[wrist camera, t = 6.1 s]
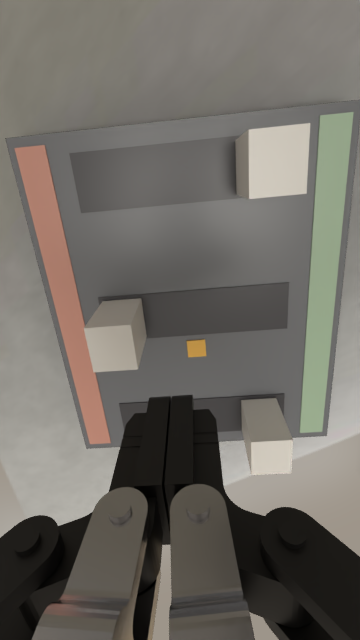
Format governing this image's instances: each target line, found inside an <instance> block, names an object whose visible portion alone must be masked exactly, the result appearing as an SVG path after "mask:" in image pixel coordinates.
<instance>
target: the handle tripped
mask: <svg viewBox="0 0 360 640" xmlns="http://www.w3.org/2000/svg"><path fill="white" fill-rule="evenodd" d="M84 332H85V337H86V341H87V346H88V350H89V354H90V359H91V363H92V368H93V372H108V371H123V370H138V368H139V364H140V360H141V356H142V352H143V349H144V345H145V341H146V337H147V335H146V328H145V321H144V314H143V307H142V300H141V298H137V299H124V300H112V301H102V303H101V304H100V306H99V307H98V308H97V310H96V311H95V313H94V314H93V316H92V317H91V318H90V320H89V321H88V323H87V324H86V326H85V327H84Z"/></svg>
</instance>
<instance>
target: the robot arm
mask: <svg viewBox="0 0 360 640" xmlns="http://www.w3.org/2000/svg"><path fill="white" fill-rule="evenodd" d="M166 544H167V545H168V544H171V586H172V587H171V589H172V602H171V606H170V612H169V640H255V638H254V633H253V628H252V623H251V618H250V613H249V612H251V613H253V614H256V615H258V616H261V617H263V618H264V620H265V622H266V623H267V625H268V626H269V628H270V629H271V630H272V631H273V633H274V634H275V635H276V636H277V637H278V639H279V640H360V557H359V556H358V555H357V554H356V553H355V552H353V551H352V550H351V549H349V548H348V547H347V546H346V545H345V544H343V543H342V542H341V541H340V540H339V539H337V538H336V537H335V536H334V535H332V534H331V533H330V532H329V531H328V530H326V529H325V528H324V527H323V526H321V525H320V524H319V523H318V522H316V521H315V520H314V519H313V518H312V517H310V516H309V515H307V514H306V513H304V512H302V511H300V510H297V509H295V508H290V507H281V508H277V509H274V510H272V511H270V512H269V513H268V514H267V515H266V516H262V515H259V514H255V513H252V512H248V511H245V510H243V509H241V508H240V507H238V506H237V505H235V504H234V503H233V502H232V501H231V500H230V499H229V497H228V496H227V494H226V493H225V490H224V486H223V479H222V470H221V460H220V451H219V441H218V432H217V422H216V418H215V417H214V415H213V414H212V413H211V411H210V410H209V409H198V410H194V401H193V395H178V396H172V398H171V396H163V397H150V398H149V401H148V406H147V412H146V413H135V414H134V415H133V416H132V417H131V419H130V420H129V421H128V422H127V424H126V426H125V430H124V434H123V439H122V442H121V446H120V450H119V454H118V458H117V462H116V466H115V470H114V474H113V478H112V482H111V486H110V490H109V492H108V493H107V494H106V495H104V496H103V497H102V498H101V499H100V500H99V501H98V503H97V504H96V506H95V508H94V510H93V512H92V513H90V514H89V515H87V516H85V517H83V518H80V519H77V520H75V521H72V522H69V523H66V524H63V525H60V526H58V525H57V523H56V522H55V520H53V519H52V518H50V517H48V516H41V515H39V516H34V517H30V518H28V519H25V520H23V521H22V522H20V523H18V524H17V525H16V526H14V527H13V528H12V529H11V530H10V531H8V532H7V533H6V534H5V535H3V536H2V537H1V538H0V640H152V636H153V629H154V622H155V614H156V608H157V601H158V593H159V586H160V578H161V571H160V566H161V554H162V545H166Z"/></svg>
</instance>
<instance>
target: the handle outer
mask: <svg viewBox="0 0 360 640" xmlns="http://www.w3.org/2000/svg"><path fill="white" fill-rule="evenodd" d="M241 415H242V433H243V437H244V442H245V447H246V451H247V456H248V461H249V466H250V470H251V475H262V474H283V473H291V467H292V449H293V439H292V436H291V434H290V431H289V429H288V426H287V424H286V421H285V419H284V416H283V414H282V411H281V409H280V406H279V404H278V401H277V399H276V398H267V399H251V400H241Z"/></svg>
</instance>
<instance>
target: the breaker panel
mask: <svg viewBox="0 0 360 640" xmlns="http://www.w3.org/2000/svg"><path fill="white" fill-rule="evenodd" d="M305 123H310V139H309V158H308V176H307V194H298V195H288V196H277V197H267V198H256V199H247V198H244V197H242V196H239V195H237V191H236V146H235V140H236V139H237V138H239V137H240V136H241V135H242V134H244V133H245V132H246V131H247V130H249V129H258V128H267V127H276V126H286V125H295V124H305ZM359 125H360V100H352V101H343V102H334V103H325V104H315V105H306V106H297V107H288V108H279V109H269V110H260V111H251V112H242V113H233V114H224V115H214V116H205V117H196V118H187V119H178V120H168V121H159V122H150V123H141V124H132V125H123V126H113V127H104V128H95V129H86V130H77V131H68V132H58V133H49V134H40V135H31V136H22V137H12V138H5V140H6V143H7V147H8V151H9V155H10V159H11V163H12V166H13V170H14V174H15V178H16V182H17V185H18V189H19V193H20V197H21V201H22V204H23V208H24V212H25V216H26V220H27V224H28V227H29V231H30V235H31V239H32V243H33V246H34V250H35V254H36V258H37V262H38V266H39V269H40V273H41V277H42V281H43V285H44V288H45V292H46V296H47V300H48V304H49V307H50V311H51V315H52V319H53V323H54V327H55V330H56V334H57V338H58V342H59V346H60V349H61V353H62V357H63V361H64V365H65V369H66V372H67V376H68V380H69V384H70V388H71V391H72V395H73V399H74V403H75V407H76V410H77V414H78V418H79V422H80V426H81V430H82V433H83V437H84V441H85V445H86V449H88V448H107V447H120V446H121V442H122V439H123V434H124V430H125V426H126V424H127V422H128V421H129V420H130V419H131V417H132V416H133V415H134V414H135V413H146V412H147V406H148V401H149V398H150V397H163V396H171V398H172V396H178V395H193V401H194V410H198V409H209V410H210V411H211V413H212V414H213V415H214V417H215V418H216V422H217V432H218V441H219V442H220V441H239V440H244V437H243V433H242V415H241V400H251V399H267V398H276V399H277V401H278V404H279V406H280V409H281V411H282V414H283V416H284V419H285V421H286V424H287V426H288V429H289V431H290V434H291V436H292V438H296V437H315V436H327V428H328V419H329V409H330V400H331V390H332V381H333V372H334V362H335V353H336V343H337V334H338V324H339V315H340V305H341V296H342V286H343V277H344V267H345V258H346V248H347V239H348V229H349V220H350V210H351V201H352V192H353V182H354V173H355V163H356V154H357V144H358V135H359ZM137 298H141V300H142V307H143V314H144V321H145V328H146V335H147V337H146V341H145V345H144V349H143V352H142V356H141V360H140V364H139V368H138V370H123V371H108V372H93V368H92V363H91V359H90V354H89V350H88V346H87V341H86V337H85V332H84V327H85V326H86V324H87V323H88V321H89V320H90V318H91V317H92V316H93V314H94V313H95V311H96V310H97V308H98V307H99V306H100V304H101V303H102V301H112V300H124V299H137Z"/></svg>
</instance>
